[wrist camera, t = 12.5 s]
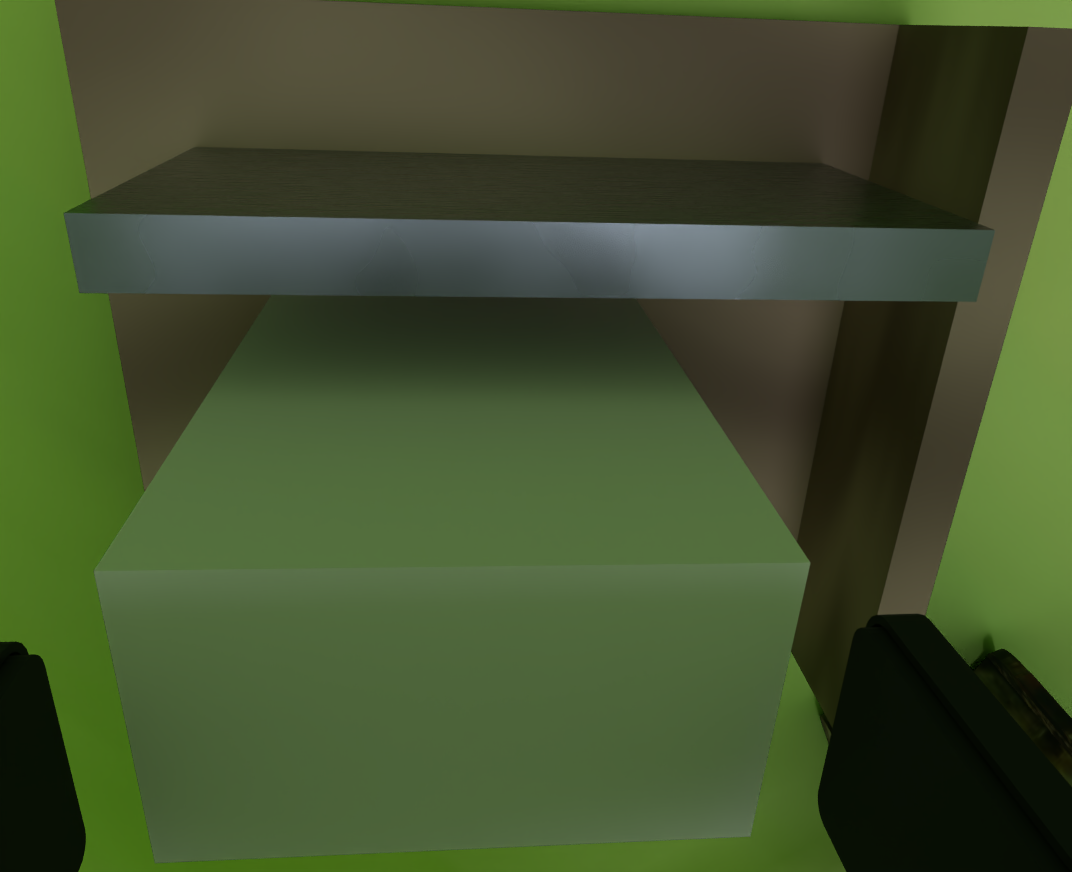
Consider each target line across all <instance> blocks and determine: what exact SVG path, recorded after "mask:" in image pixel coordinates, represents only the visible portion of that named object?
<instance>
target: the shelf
mask: <svg viewBox="0 0 1072 872" xmlns="http://www.w3.org/2000/svg"><path fill="white" fill-rule="evenodd" d="M55 5H56V10H57V15H58V21H59V26H60V32H61V37H62V43H63V48H64V54H65V59H66V65H67V70H68V76H69V81H70V86H71V92H72V97H73V103H74V108H75V114H76V119H77V125H78V130H79V136H80V141H81V147H82V152H83V157H84V163H85V168H86V174H87V179H88V185H89V190H90V196H91V199H90V200H88V201H86V202H84V203H82V204H80V205H78V206H76V207H75V208H73V209H71V210H69V211H67V212H65V213H64V217H65V222H66V227H67V232H68V237H69V242H70V247H71V252H72V257H73V263H74V268H75V273H76V278H77V283H78V288H79V293H108V294H109V299H110V305H111V310H112V316H113V321H114V327H115V332H116V338H117V343H118V349H119V354H120V359H121V365H122V370H123V376H124V381H125V387H126V392H127V398H128V403H129V409H130V414H131V420H132V425H133V430H134V436H135V441H136V447H137V452H138V458H139V463H140V469H141V474H142V480H143V485H144V491H146V489H147V487H148V486H149V484H150V483H151V481H152V480H153V478H154V477H155V475H156V474H157V472H158V470H159V469H160V467H161V466H162V464H163V463H164V461H165V460H166V458H167V456H168V455H169V453H170V452H171V450H172V449H173V447H174V446H175V444H176V442H177V441H178V439H179V438H180V436H181V435H182V433H183V432H184V430H185V429H186V427H187V425H188V424H189V422H190V421H191V419H192V418H193V416H194V415H195V413H196V411H197V410H198V408H199V407H200V405H201V404H202V402H203V401H204V399H205V397H206V396H207V394H208V393H209V391H210V390H211V388H212V387H213V385H214V384H215V382H216V380H217V379H218V377H219V376H220V374H221V373H222V371H223V370H224V368H225V366H226V365H227V363H228V362H229V360H230V359H231V357H232V356H233V354H234V353H235V351H236V349H237V348H238V346H239V345H240V343H241V342H242V340H243V339H244V337H245V335H246V334H247V332H248V331H249V329H250V328H251V326H252V325H253V323H254V321H255V320H256V318H257V317H258V315H259V314H260V312H261V311H262V309H263V308H264V306H265V304H266V303H267V301H268V300H269V298H270V297H271V295H336V296H437V297H538V298H636V300H637V301H638V303H639V304H640V306H641V307H642V309H643V310H644V312H645V313H646V315H647V316H648V318H649V319H650V321H651V322H652V324H653V325H654V327H655V328H656V330H657V331H658V333H659V334H660V336H661V337H662V339H663V340H664V342H665V343H666V345H667V347H668V348H669V350H670V351H671V353H672V354H673V356H674V357H675V359H676V360H677V362H678V363H679V365H680V366H681V368H682V369H683V371H684V372H685V374H686V375H687V377H688V378H689V380H690V381H691V383H692V384H693V386H694V387H695V389H696V390H697V392H698V393H699V395H700V396H701V398H702V399H703V401H704V402H705V404H706V405H707V407H708V408H709V410H710V412H711V413H712V415H713V416H714V418H715V419H716V421H717V422H718V424H719V425H720V427H721V428H722V430H723V431H724V433H725V434H726V436H727V437H728V439H729V440H730V442H731V443H732V445H733V446H734V448H735V449H736V451H737V452H738V454H739V455H740V457H741V458H742V460H743V461H744V463H745V464H746V466H747V467H748V469H749V470H750V472H751V474H752V475H753V477H754V478H755V480H756V481H757V483H758V484H759V486H760V487H761V489H762V490H763V492H764V493H765V495H766V496H767V498H768V499H769V501H770V502H771V504H772V505H773V507H774V508H775V510H776V511H777V513H778V514H779V516H780V517H781V519H782V520H783V522H784V523H785V525H786V526H787V528H788V529H789V531H790V532H791V534H792V535H793V537H794V539H795V540H796V542H797V543H798V545H799V546H800V548H801V549H802V551H803V552H804V554H805V555H806V557H807V558H808V560H809V561H810V567H809V572H808V576H807V581H806V585H805V590H804V594H803V599H802V603H801V608H800V612H799V617H798V622H797V626H796V631H795V635H794V640H793V644H792V649H791V652H792V654H793V656H794V658H795V660H796V661H797V663H798V665H799V667H800V669H801V671H802V673H803V674H804V676H805V678H806V680H807V682H808V684H809V686H810V687H811V689H812V691H813V693H814V695H815V697H816V699H817V701H818V702H819V704H820V706H821V708H822V710H823V712H824V714H825V715H826V717H827V719H828V721H829V723H830V725H831V727H832V728H833V723H834V719H835V715H836V710H837V706H838V701H839V697H840V692H841V688H842V683H843V679H844V674H845V670H846V666H847V661H848V657H849V652H850V648H851V643H852V639H853V636H854V633H855V631H856V630H857V629H858V628H861V627H866V624H867V622H868V620H869V619H870V618H871V617H872V616H875V615H887V614H922V615H924V616H925V614H926V611H927V607H928V604H929V600H930V597H931V594H932V590H933V587H934V583H935V580H936V576H937V573H938V569H939V566H940V562H941V559H942V555H943V552H944V548H945V545H946V541H947V538H948V534H949V531H950V527H951V524H952V520H953V517H954V513H955V510H956V506H957V503H958V499H959V496H960V492H961V489H962V485H963V482H964V479H965V475H966V472H967V468H968V465H969V461H970V458H971V454H972V451H973V447H974V444H975V440H976V437H977V433H978V430H979V426H980V423H981V419H982V416H983V412H984V409H985V405H986V402H987V398H988V395H989V391H990V388H991V384H992V381H993V377H994V374H995V370H996V367H997V364H998V360H999V357H1000V353H1001V350H1002V346H1003V343H1004V339H1005V336H1006V332H1007V329H1008V325H1009V322H1010V318H1011V315H1012V311H1013V308H1014V304H1015V301H1016V297H1017V294H1018V290H1019V287H1020V283H1021V280H1022V276H1023V273H1024V269H1025V266H1026V262H1027V259H1028V255H1029V252H1030V249H1031V245H1032V242H1033V238H1034V235H1035V231H1036V228H1037V224H1038V221H1039V217H1040V214H1041V210H1042V207H1043V203H1044V200H1045V196H1046V193H1047V189H1048V186H1049V182H1050V179H1051V175H1052V172H1053V168H1054V165H1055V161H1056V158H1057V154H1058V151H1059V147H1060V144H1061V140H1062V137H1063V134H1064V130H1065V127H1066V123H1067V120H1068V116H1069V113H1070V109H1071V106H1072V29H1067V28H1043V27H1004V26H940V25H890V24H867V23H843V22H819V21H796V20H772V19H749V18H725V17H701V16H678V15H654V14H630V13H607V12H583V11H559V10H536V9H512V8H489V7H465V6H441V5H418V4H394V3H370V2H347V1H323V0H55Z"/></svg>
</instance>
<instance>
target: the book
mask: <svg viewBox="0 0 1072 872" xmlns="http://www.w3.org/2000/svg"><path fill="white" fill-rule="evenodd" d="M974 673H975V674H976V675H977V676H978V677H979V678H980V680H981V681H982V682H983V683H984V684H985V686H986V687H987V688H988V689H989V690H990V691H991V693H992V694H993V695H994V696H995V697H996V698H997V700H998V701H999V702H1000V703H1001V704H1002V705H1003V707H1004V708H1005V709H1006V710H1007V711H1008V713H1009V714H1010V715H1011V716H1012V717H1013V718H1014V720H1015V721H1016V722H1017V723H1018V724H1019V725H1020V727H1021V728H1022V729H1023V730H1024V731H1025V733H1026V734H1027V735H1028V736H1029V737H1030V738H1031V740H1032V741H1033V742H1034V743H1035V744H1036V745H1037V747H1038V748H1039V749H1040V750H1041V751H1042V752H1043V754H1044V755H1045V756H1046V757H1047V758H1048V760H1049V761H1050V762H1051V763H1052V764H1053V765H1054V767H1055V768H1056V769H1057V770H1058V771H1059V772H1060V774H1061V775H1062V776H1063V777H1064V778H1065V780H1066V781H1067V782H1068V783H1069V784H1070V785H1071V787H1072V718H1071V717H1070V716H1069V715H1068V714H1067V713H1066V712H1065V710H1064V709H1063V708H1062V707H1061V706H1060V705H1059V704H1058V703H1057V701H1056V700H1055V699H1054V698H1053V697H1052V696H1051V695H1050V694H1049V693H1048V691H1047V690H1046V689H1045V688H1044V687H1043V686H1042V685H1041V684H1040V682H1039V681H1038V680H1037V679H1036V678H1035V677H1034V676H1033V675H1032V673H1030V672H1029V671H1028V670H1027V669H1026V668H1025V667H1024V666H1023V665H1022V664H1021V663H1020V662H1019V661H1018V660H1017V659H1016V658H1015V657H1014V656H1013V655H1012V654H1011V653H1010V652H1008V651H1007V650H1005V649H1000V650H998V651H995V652H992V653H989V654H988V655H987V657H986V658H985V660H984V661H983V662H982V663H981V664H980V665H979V666H978V667H977V668H976V669H975V670H974ZM820 720H821V723H822V726H823V729H824V732H825V734H826V737H827V740H828V743H829V741H830V737H831V732H832V727H831V725H830V723H829V721H828V719H827V717H826V715H825V714H823V715H820Z"/></svg>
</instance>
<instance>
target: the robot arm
mask: <svg viewBox="0 0 1072 872" xmlns="http://www.w3.org/2000/svg"><path fill="white" fill-rule="evenodd" d="M818 806H819V812H820V816H821V819H822V822H823V824H824V827H825V829H826V831H827V833H828V835H829V837H830V839H831V841H832V843H833V845H834V847H835V849H836V851H837V853H838V855H839V857H840V860H841V862H842V864H843V866H844V868H845V870H846V872H1072V787H1071V785H1070V784H1069V783H1068V782H1067V781H1066V780H1065V778H1064V777H1063V776H1062V775H1061V774H1060V772H1059V771H1058V770H1057V769H1056V768H1055V767H1054V765H1053V764H1052V763H1051V762H1050V761H1049V760H1048V758H1047V757H1046V756H1045V755H1044V754H1043V752H1042V751H1041V750H1040V749H1039V748H1038V747H1037V745H1036V744H1035V743H1034V742H1033V741H1032V740H1031V738H1030V737H1029V736H1028V735H1027V734H1026V733H1025V731H1024V730H1023V729H1022V728H1021V727H1020V725H1019V724H1018V723H1017V722H1016V721H1015V720H1014V718H1013V717H1012V716H1011V715H1010V714H1009V713H1008V711H1007V710H1006V709H1005V708H1004V707H1003V705H1002V704H1001V703H1000V702H999V701H998V700H997V698H996V697H995V696H994V695H993V694H992V693H991V691H990V690H989V689H988V688H987V687H986V686H985V684H984V683H983V682H982V681H981V680H980V678H979V677H978V676H977V675H976V674H975V673H974V671H973V670H972V669H971V668H970V667H969V666H968V664H967V663H966V662H965V661H964V660H963V658H962V657H961V656H960V655H959V654H958V653H957V651H956V650H955V649H954V648H953V647H952V646H951V644H950V643H949V642H948V641H947V640H946V639H945V637H944V636H943V635H942V634H941V633H940V631H939V630H938V629H937V628H936V627H935V626H934V624H933V623H932V622H931V621H930V620H929V619H928V618H927V617H926V616H924V615H922V614H887V615H875V616H872V617H871V618H870V619H869V620H868V622H867V624H866V627H861V628H858V629H857V630H856V631H855V633H854V636H853V639H852V643H851V648H850V652H849V657H848V661H847V666H846V670H845V674H844V679H843V683H842V688H841V692H840V697H839V701H838V706H837V710H836V715H835V719H834V723H833V728H832V732H831V737H830V741H829V746H828V750H827V755H826V759H825V764H824V768H823V773H822V777H821V781H820V786H819V791H818ZM85 844H86V834H85V827H84V823H83V819H82V815H81V811H80V807H79V803H78V799H77V795H76V791H75V787H74V782H73V778H72V774H71V770H70V766H69V762H68V758H67V754H66V750H65V746H64V742H63V738H62V734H61V729H60V725H59V721H58V717H57V713H56V709H55V705H54V701H53V697H52V693H51V689H50V685H49V681H48V676H47V672H46V668H45V665H44V662H43V659H42V658H41V657H40V656H39V655H29V654H28V652H27V649H26V648H25V646H24V645H23V644H22V643H19V642H0V872H78V871H79V869H80V866H81V863H82V860H83V856H84V851H85Z"/></svg>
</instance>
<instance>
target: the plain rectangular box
mask: <svg viewBox="0 0 1072 872" xmlns="http://www.w3.org/2000/svg"><path fill="white" fill-rule="evenodd" d="M809 567H810V561H809V560H808V558H807V557H806V555H805V554H804V552H803V551H802V549H801V548H800V546H799V545H798V543H797V542H796V540H795V539H794V537H793V535H792V534H791V532H790V531H789V529H788V528H787V526H786V525H785V523H784V522H783V520H782V519H781V517H780V516H779V514H778V513H777V511H776V510H775V508H774V507H773V505H772V504H771V502H770V501H769V499H768V498H767V496H766V495H765V493H764V492H763V490H762V489H761V487H760V486H759V484H758V483H757V481H756V480H755V478H754V477H753V475H752V474H751V472H750V470H749V469H748V467H747V466H746V464H745V463H744V461H743V460H742V458H741V457H740V455H739V454H738V452H737V451H736V449H735V448H734V446H733V445H732V443H731V442H730V440H729V439H728V437H727V436H726V434H725V433H724V431H723V430H722V428H721V427H720V425H719V424H718V422H717V421H716V419H715V418H714V416H713V415H712V413H711V412H710V410H709V408H708V407H707V405H706V404H705V402H704V401H703V399H702V398H701V396H700V395H699V393H698V392H697V390H696V389H695V387H694V386H693V384H692V383H691V381H690V380H689V378H688V377H687V375H686V374H685V372H684V371H683V369H682V368H681V366H680V365H679V363H678V362H677V360H676V359H675V357H674V356H673V354H672V353H671V351H670V350H669V348H668V347H667V345H666V343H665V342H664V340H663V339H662V337H661V336H660V334H659V333H658V331H657V330H656V328H655V327H654V325H653V324H652V322H651V321H650V319H649V318H648V316H647V315H646V313H645V312H644V310H643V309H642V307H641V306H640V304H639V303H638V301H637V300H636V298H538V297H437V296H336V295H271V297H270V298H269V300H268V301H267V303H266V304H265V306H264V308H263V309H262V311H261V312H260V314H259V315H258V317H257V318H256V320H255V321H254V323H253V325H252V326H251V328H250V329H249V331H248V332H247V334H246V335H245V337H244V339H243V340H242V342H241V343H240V345H239V346H238V348H237V349H236V351H235V353H234V354H233V356H232V357H231V359H230V360H229V362H228V363H227V365H226V366H225V368H224V370H223V371H222V373H221V374H220V376H219V377H218V379H217V380H216V382H215V384H214V385H213V387H212V388H211V390H210V391H209V393H208V394H207V396H206V397H205V399H204V401H203V402H202V404H201V405H200V407H199V408H198V410H197V411H196V413H195V415H194V416H193V418H192V419H191V421H190V422H189V424H188V425H187V427H186V429H185V430H184V432H183V433H182V435H181V436H180V438H179V439H178V441H177V442H176V444H175V446H174V447H173V449H172V450H171V452H170V453H169V455H168V456H167V458H166V460H165V461H164V463H163V464H162V466H161V467H160V469H159V470H158V472H157V474H156V475H155V477H154V478H153V480H152V481H151V483H150V484H149V486H148V487H147V489H146V491H145V492H144V494H143V495H142V497H141V498H140V500H139V501H138V503H137V505H136V506H135V508H134V509H133V511H132V512H131V514H130V515H129V517H128V519H127V520H126V522H125V523H124V525H123V526H122V528H121V529H120V531H119V532H118V534H117V536H116V537H115V539H114V540H113V542H112V543H111V545H110V546H109V548H108V550H107V551H106V553H105V554H104V556H103V557H102V559H101V560H100V562H99V564H98V565H97V567H96V568H95V570H94V575H95V580H96V585H97V590H98V594H99V599H100V604H101V609H102V613H103V618H104V623H105V628H106V632H107V637H108V642H109V647H110V651H111V656H112V661H113V666H114V670H115V675H116V680H117V685H118V690H119V694H120V699H121V704H122V709H123V713H124V718H125V723H126V728H127V732H128V737H129V742H130V747H131V751H132V756H133V761H134V766H135V771H136V775H137V780H138V785H139V790H140V794H141V799H142V804H143V809H144V813H145V818H146V823H147V828H148V832H149V837H150V842H151V847H152V852H153V856H154V861H155V863H168V862H191V861H213V860H235V859H258V858H280V857H303V856H325V855H347V854H370V853H392V852H414V851H437V850H459V849H482V848H504V847H526V846H549V845H571V844H594V843H616V842H638V841H661V840H683V839H706V838H728V837H750V835H751V830H752V825H753V821H754V816H755V812H756V807H757V803H758V798H759V794H760V789H761V785H762V780H763V776H764V771H765V767H766V762H767V758H768V753H769V748H770V744H771V739H772V735H773V730H774V726H775V721H776V717H777V712H778V708H779V703H780V699H781V694H782V690H783V685H784V680H785V676H786V671H787V667H788V662H789V658H790V653H791V649H792V644H793V640H794V635H795V631H796V626H797V622H798V617H799V612H800V608H801V603H802V599H803V594H804V590H805V585H806V581H807V576H808V572H809Z"/></svg>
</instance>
